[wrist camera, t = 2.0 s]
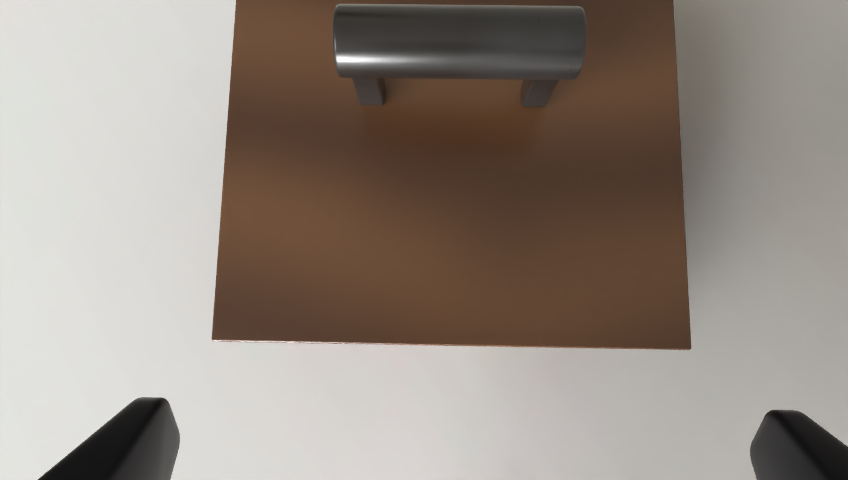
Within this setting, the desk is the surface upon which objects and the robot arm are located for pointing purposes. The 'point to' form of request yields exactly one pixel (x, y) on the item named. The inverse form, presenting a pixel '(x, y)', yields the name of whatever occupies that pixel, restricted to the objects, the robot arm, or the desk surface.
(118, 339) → the desk surface
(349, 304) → the compartment lid
